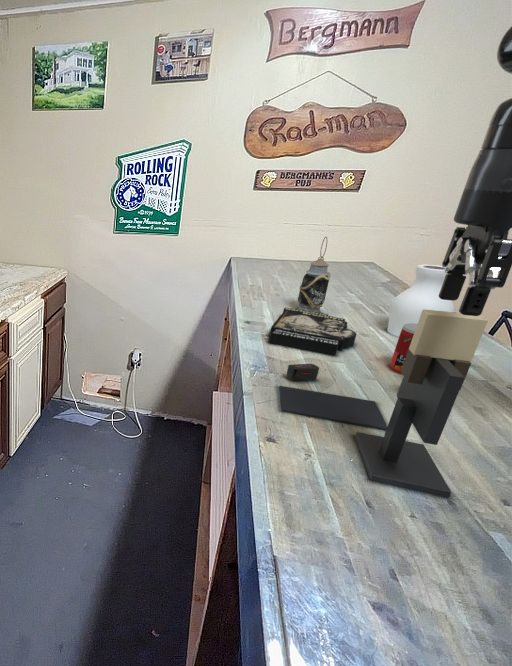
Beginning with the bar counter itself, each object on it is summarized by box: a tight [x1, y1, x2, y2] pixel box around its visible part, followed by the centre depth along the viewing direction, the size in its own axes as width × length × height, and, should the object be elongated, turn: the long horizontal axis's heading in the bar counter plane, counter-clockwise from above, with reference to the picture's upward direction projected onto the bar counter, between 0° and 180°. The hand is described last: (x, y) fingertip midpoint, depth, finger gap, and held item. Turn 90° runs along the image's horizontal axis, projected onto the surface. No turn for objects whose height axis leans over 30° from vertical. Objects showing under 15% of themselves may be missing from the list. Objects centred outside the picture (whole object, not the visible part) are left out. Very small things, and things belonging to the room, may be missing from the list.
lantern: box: [297, 236, 332, 313], centre depth 152 cm, size 9×8×25 cm
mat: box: [279, 385, 388, 432], centre depth 95 cm, size 18×12×1 cm, turn 65°
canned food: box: [389, 323, 417, 375], centre depth 109 cm, size 8×8×11 cm
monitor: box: [354, 357, 466, 499], centre depth 73 cm, size 10×16×20 cm, turn 155°
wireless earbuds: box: [285, 363, 320, 382], centre depth 108 cm, size 5×7×3 cm, turn 95°
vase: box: [386, 264, 455, 338], centre depth 131 cm, size 14×14×20 cm
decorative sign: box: [268, 307, 357, 357], centre depth 134 cm, size 21×3×30 cm
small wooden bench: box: [401, 309, 489, 391], centre depth 69 cm, size 7×4×11 cm, turn 65°
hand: (457, 306), depth 66 cm, fingers open, 8 cm apart
